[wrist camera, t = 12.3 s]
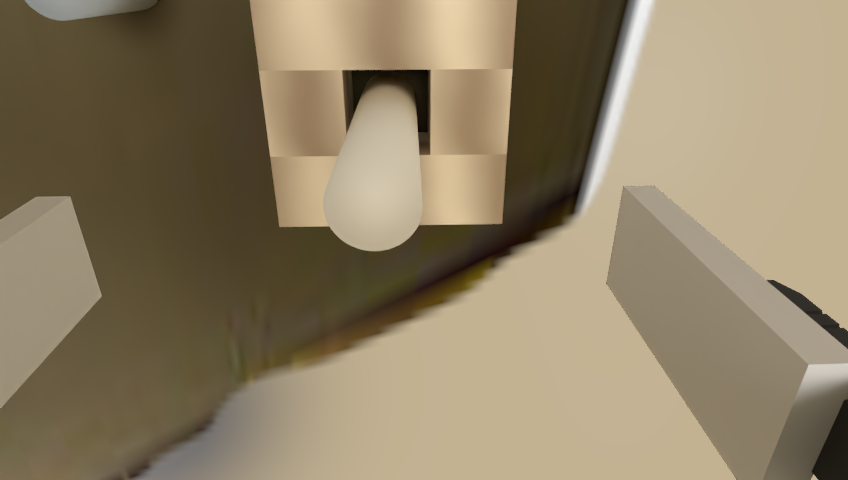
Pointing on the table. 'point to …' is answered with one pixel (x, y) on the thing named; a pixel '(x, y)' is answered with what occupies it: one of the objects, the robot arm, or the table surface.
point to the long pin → (378, 169)
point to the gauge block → (388, 50)
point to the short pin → (86, 7)
